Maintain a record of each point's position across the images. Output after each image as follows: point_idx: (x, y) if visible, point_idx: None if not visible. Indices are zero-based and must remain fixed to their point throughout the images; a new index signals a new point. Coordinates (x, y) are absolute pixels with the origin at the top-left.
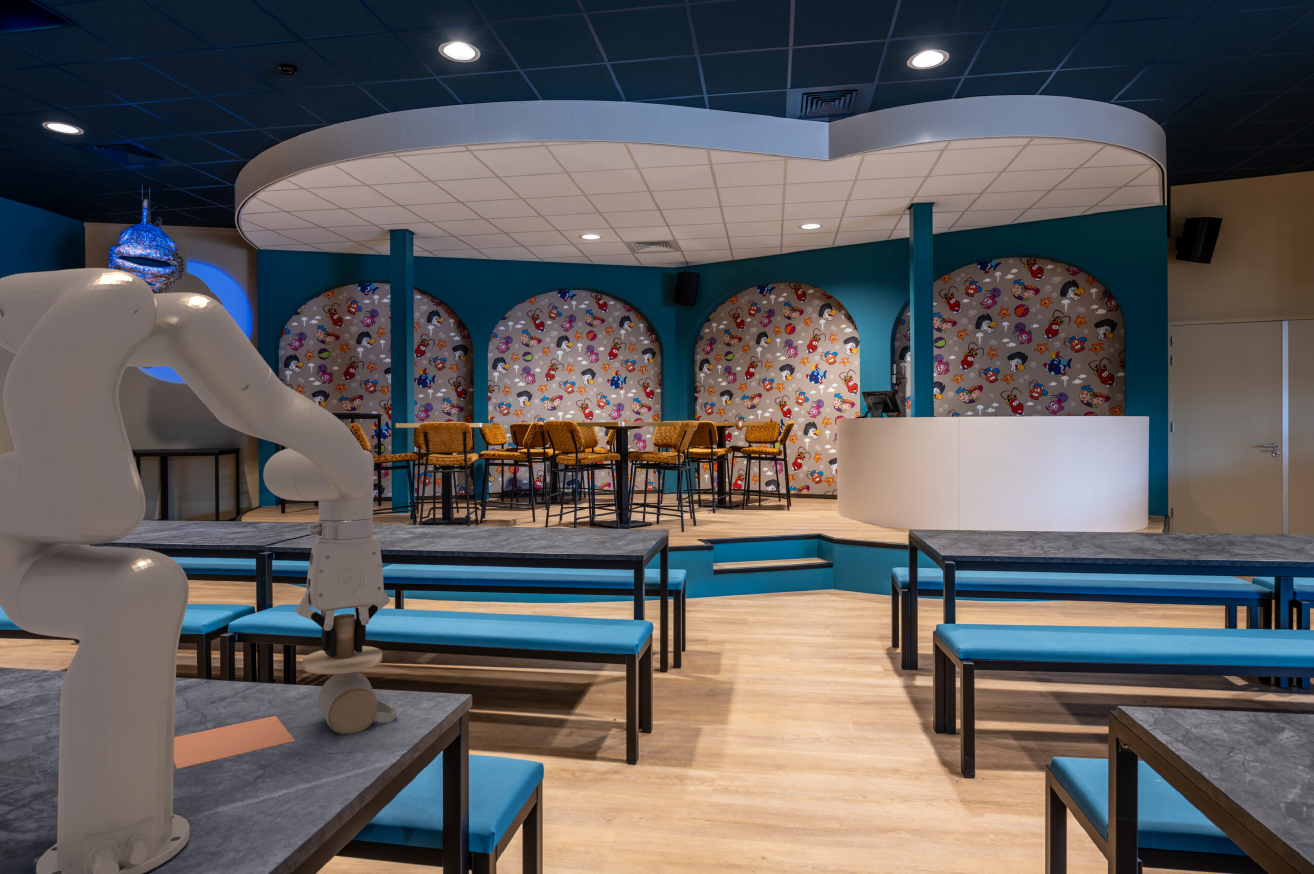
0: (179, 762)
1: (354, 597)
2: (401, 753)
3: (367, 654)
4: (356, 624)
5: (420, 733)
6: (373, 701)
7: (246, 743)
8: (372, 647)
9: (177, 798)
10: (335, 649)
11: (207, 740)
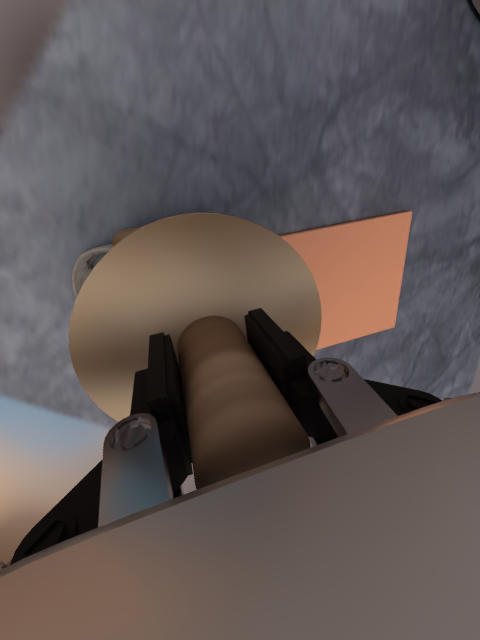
0: (404, 234)
1: (281, 606)
2: (57, 42)
3: (130, 337)
4: (179, 433)
5: (9, 162)
6: (121, 231)
7: (328, 264)
8: (111, 411)
9: (428, 104)
10: (252, 322)
11: (363, 301)
